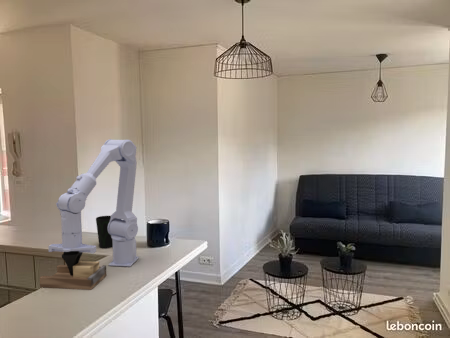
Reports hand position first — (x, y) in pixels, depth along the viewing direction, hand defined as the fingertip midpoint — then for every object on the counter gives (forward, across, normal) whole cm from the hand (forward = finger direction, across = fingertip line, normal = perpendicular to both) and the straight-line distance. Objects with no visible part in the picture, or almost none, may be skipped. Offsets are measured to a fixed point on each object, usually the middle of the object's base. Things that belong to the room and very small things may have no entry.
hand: (73, 274), depth 116 cm
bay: (+2, 0, 0) cm, 2 cm away
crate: (+1, +4, 0) cm, 5 cm away
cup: (+2, -5, +36) cm, 36 cm away
